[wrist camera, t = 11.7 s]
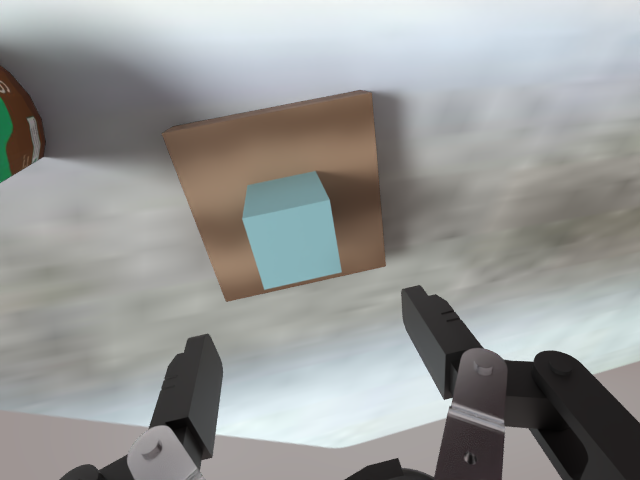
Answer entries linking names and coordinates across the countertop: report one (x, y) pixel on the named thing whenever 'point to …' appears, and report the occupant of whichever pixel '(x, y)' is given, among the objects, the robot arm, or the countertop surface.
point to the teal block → (291, 230)
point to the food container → (18, 128)
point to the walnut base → (278, 162)
